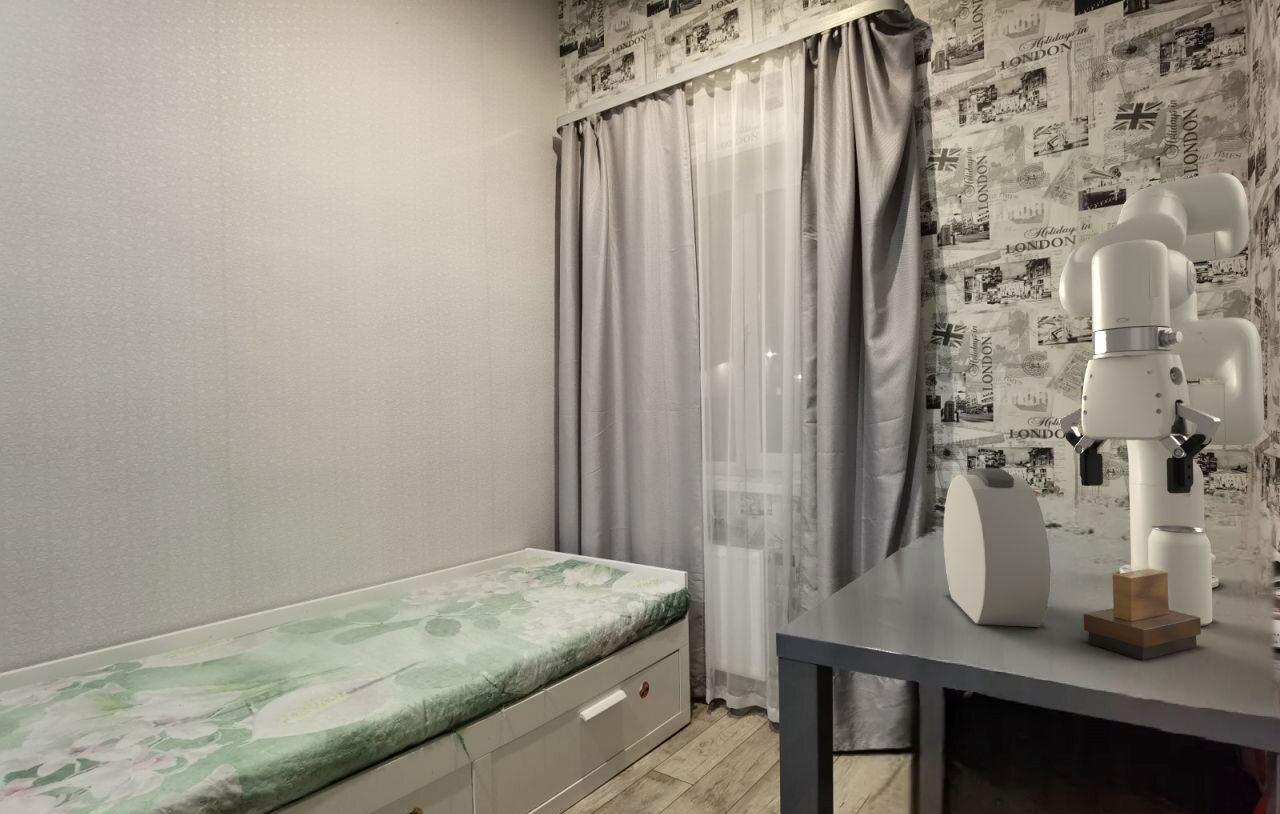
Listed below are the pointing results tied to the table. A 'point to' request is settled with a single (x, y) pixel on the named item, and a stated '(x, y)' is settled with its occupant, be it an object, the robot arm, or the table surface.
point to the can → (1184, 568)
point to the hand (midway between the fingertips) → (1133, 488)
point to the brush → (1141, 618)
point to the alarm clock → (996, 549)
